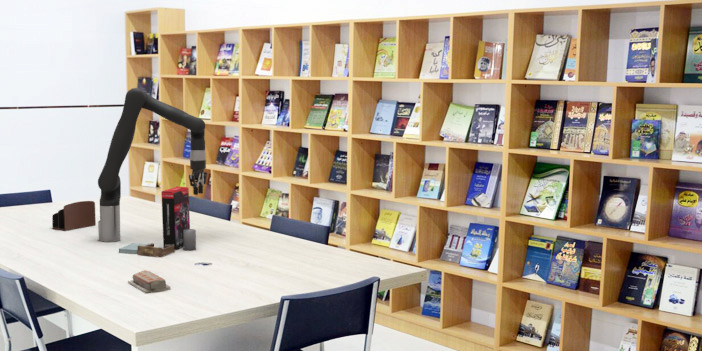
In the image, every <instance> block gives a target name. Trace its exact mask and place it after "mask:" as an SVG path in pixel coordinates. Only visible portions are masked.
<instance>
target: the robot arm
mask: <svg viewBox="0 0 702 351" xmlns="http://www.w3.org/2000/svg"><path fill="white" fill-rule="evenodd" d="M142 109H144V110H148V111H150V112H153V113H154V114H156V115H158V116H159V117H161V118H163V119H165V120H167V121H169V122H172V123H174V124H176V125H177V126H181V127H184V128H185V129H188V130H190V153H189V161H190V162H189V169H190V170H192V171H191V174H188V180H189V184H190V187H192V188H193V191H192V192H193V195H195V196H198V195H199V194H201V195H202V194H203V193H204V186H205V185H206V184H207V177H208V172H207V171H204V170H205V169H206V167H207V156H206V155H207V153H206V140H205V139H206V138H205V136H206V135H205V131H206V123H205V121H204V120H203V119H202V118H200V117H196V116H194V115H192V114H190V113H187V111H184V110H183V109H179V108H177V107H175V106H173V105H170V104H167V103H166V102H164V101H163V102H162V101H160V100H158V99H156V98H155V97H153V96H151V95H150V94H148V93H147V92H145V91H144V90H143V89H141V88H138V87H134V88H131V89H129V90H128V91H127V92H126V94H125V97H124V104H123V108H122V112H121V115H120V118H119V120H118V122H117V125H116V127H115V129H114V132H113V134H112V137H111V141H110V145H109V148H108V152H107V155H106V156H107V157H106V160H105V163H104V166H103V167H102V171H101V172H100V174H99V177H98V180H97V185H98V188H99V190H100V197H99V220H98V222H97V223H98V226H97V227H98V241H101V242H103V243H104V242H105V243H112V242H119V241H121V206H120V205H121V202H120V201H121V197H122V196H121V192H122V191H121V190H122V188H121V184H122V182H121V178H120V175H119V174H120V170H121V167H122V165H123V163H124V162H125V159H126V157H127V155H128V154H129V151H130V149H131V147H132V143H133V141H134V138H135V133H136V126H137V121H138V118H139V116H140V113H141V111H142Z"/></svg>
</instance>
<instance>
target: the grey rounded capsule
mask: <svg viewBox="0 0 702 351" xmlns="http://www.w3.org/2000/svg"><path fill="white" fill-rule="evenodd" d="M196 240H197V230H196V229H194V228H190V229H185V230H183V246H182V247H183V250H184V251H187V252H189V251H191V252H192V251H196V250H197V241H196Z"/></svg>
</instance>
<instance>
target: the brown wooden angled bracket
mask: <svg viewBox="0 0 702 351" xmlns="http://www.w3.org/2000/svg"><path fill="white" fill-rule="evenodd" d="M148 244H149V245H146V246H140V245H139V246H138V254H137V255H138V256H144V257H145V256H147V257H155V258H156V257H157V258H162V257H164V256H168V255H171V254H173V253H175V250H174V246H169V247H166V248H164V247H160V246H159V247H158V246H155V243H148Z"/></svg>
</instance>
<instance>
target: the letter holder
mask: <svg viewBox="0 0 702 351" xmlns="http://www.w3.org/2000/svg"><path fill="white" fill-rule="evenodd" d="M51 220H52V230H57V231H60V232H61V231H62V232H67V231H73V230H80V229H85V228H89V227H94V226H97V223H96V221H97V220H96V203H95V201H93V200H84V201H75V202H71V203H68V204H66V205H64V206H63V208H61V209H60V210H58V212H56V213H54V214H52V219H51Z"/></svg>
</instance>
